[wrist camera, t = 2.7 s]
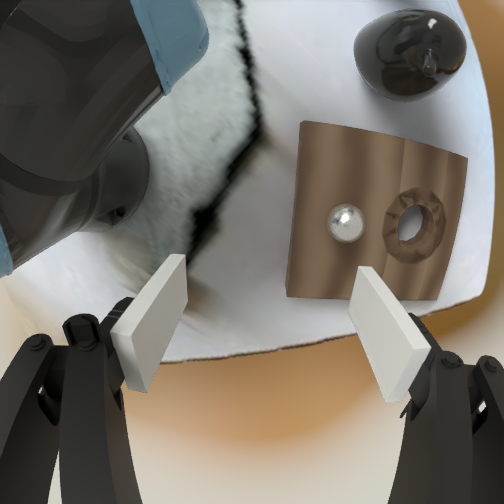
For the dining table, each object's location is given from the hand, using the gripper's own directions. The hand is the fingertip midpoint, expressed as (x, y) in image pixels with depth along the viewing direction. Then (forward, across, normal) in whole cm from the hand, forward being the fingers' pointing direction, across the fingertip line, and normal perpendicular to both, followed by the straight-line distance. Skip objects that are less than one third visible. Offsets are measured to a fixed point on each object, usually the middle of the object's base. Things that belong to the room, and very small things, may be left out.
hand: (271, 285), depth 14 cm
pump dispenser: (+20, +13, +19) cm, 30 cm away
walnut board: (+19, +14, 0) cm, 24 cm away
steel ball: (+14, +8, 0) cm, 16 cm away
